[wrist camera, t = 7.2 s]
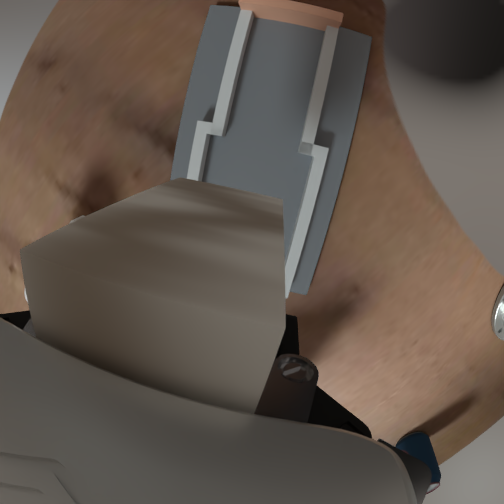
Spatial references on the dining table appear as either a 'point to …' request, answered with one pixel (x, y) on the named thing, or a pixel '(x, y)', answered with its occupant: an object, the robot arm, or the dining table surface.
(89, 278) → the slider block
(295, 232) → the stepped grey tray
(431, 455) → the soda can
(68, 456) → the robot arm
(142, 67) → the dining table surface
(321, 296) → the dining table surface
